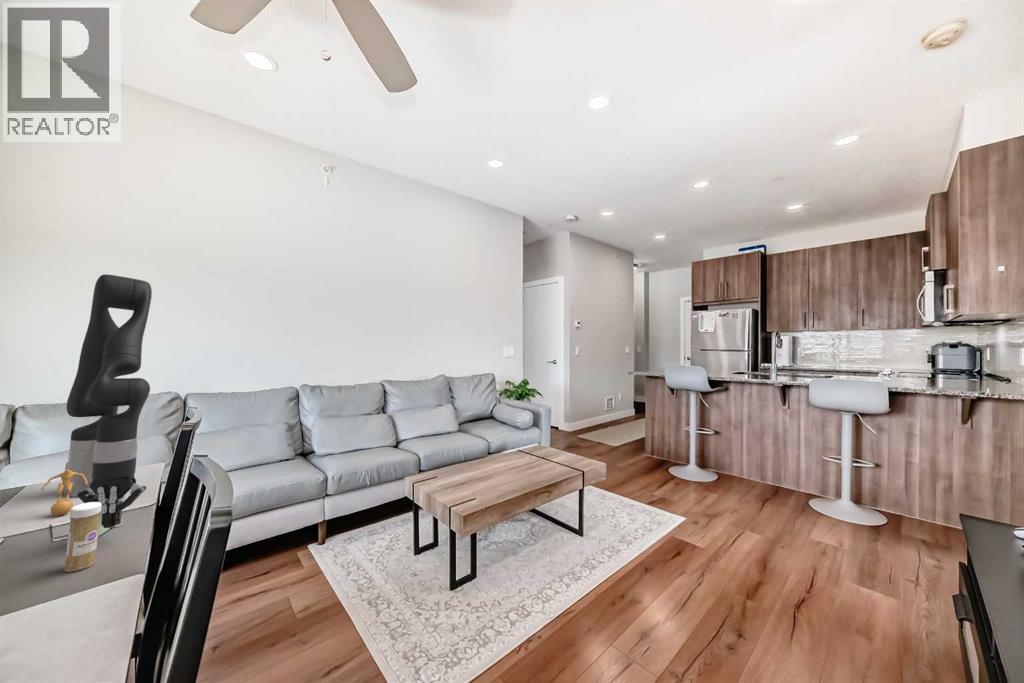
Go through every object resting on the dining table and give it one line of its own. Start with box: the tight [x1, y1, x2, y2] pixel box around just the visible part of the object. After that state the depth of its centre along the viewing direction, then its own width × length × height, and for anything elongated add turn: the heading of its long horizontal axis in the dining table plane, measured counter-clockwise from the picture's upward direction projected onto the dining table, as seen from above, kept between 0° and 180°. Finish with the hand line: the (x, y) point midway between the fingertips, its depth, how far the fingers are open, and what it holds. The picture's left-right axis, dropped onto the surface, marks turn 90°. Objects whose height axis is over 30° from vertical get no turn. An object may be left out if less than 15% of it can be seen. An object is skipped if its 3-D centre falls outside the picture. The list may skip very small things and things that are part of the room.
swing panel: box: [98, 512, 111, 537], centre depth 93 cm, size 9×2×6 cm, turn 18°
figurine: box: [41, 470, 88, 516], centre depth 103 cm, size 8×6×12 cm
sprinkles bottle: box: [63, 502, 101, 573], centre depth 81 cm, size 5×5×14 cm
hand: (110, 526), depth 92 cm, fingers closed
